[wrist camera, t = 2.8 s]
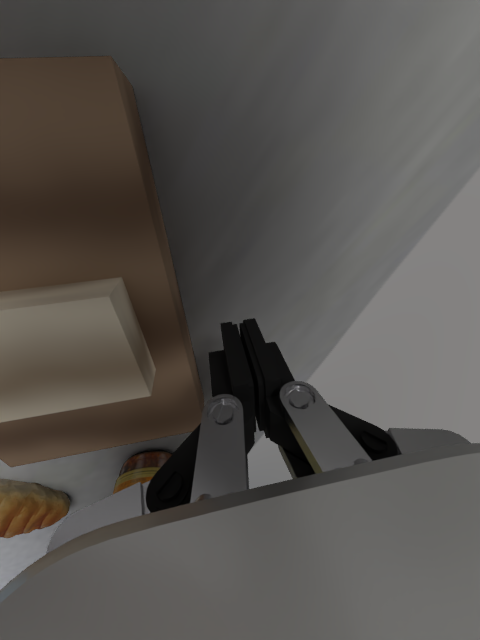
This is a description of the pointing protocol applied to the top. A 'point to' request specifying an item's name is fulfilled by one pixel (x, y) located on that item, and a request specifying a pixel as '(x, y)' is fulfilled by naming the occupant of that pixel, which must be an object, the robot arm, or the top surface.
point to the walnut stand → (89, 240)
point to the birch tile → (70, 349)
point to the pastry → (29, 507)
